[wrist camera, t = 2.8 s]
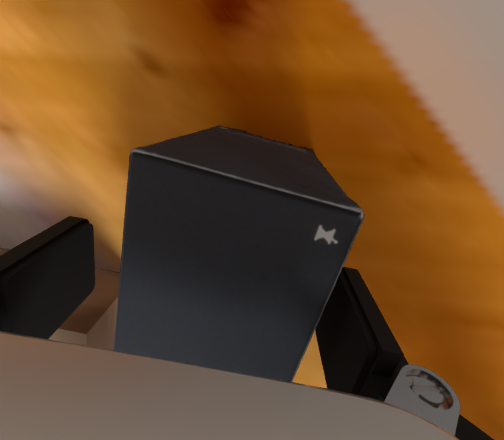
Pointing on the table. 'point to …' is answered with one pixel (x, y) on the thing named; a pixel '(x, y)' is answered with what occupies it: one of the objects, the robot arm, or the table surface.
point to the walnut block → (93, 314)
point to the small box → (229, 251)
